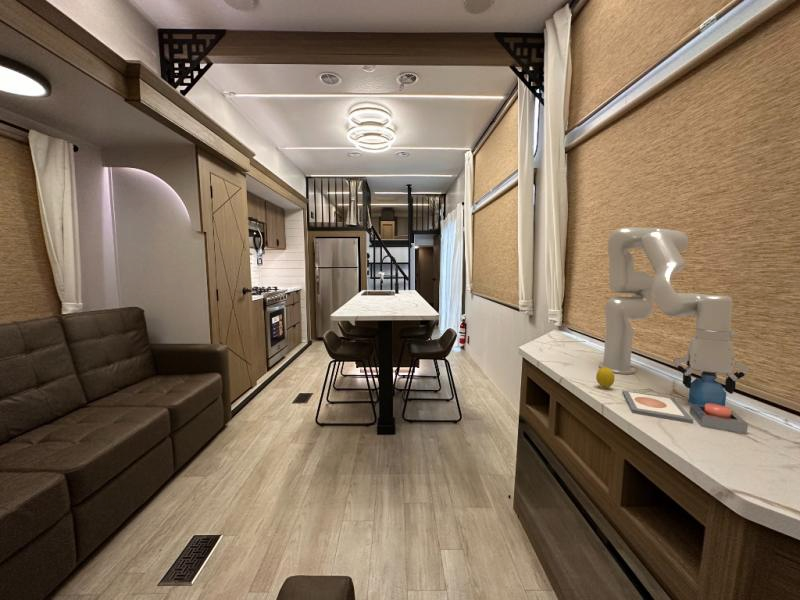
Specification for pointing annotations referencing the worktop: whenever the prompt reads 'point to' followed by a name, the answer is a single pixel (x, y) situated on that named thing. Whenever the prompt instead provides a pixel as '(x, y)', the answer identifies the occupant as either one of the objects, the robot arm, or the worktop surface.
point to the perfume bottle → (706, 390)
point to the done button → (717, 410)
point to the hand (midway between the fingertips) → (707, 389)
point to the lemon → (605, 377)
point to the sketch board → (656, 406)
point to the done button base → (718, 420)
